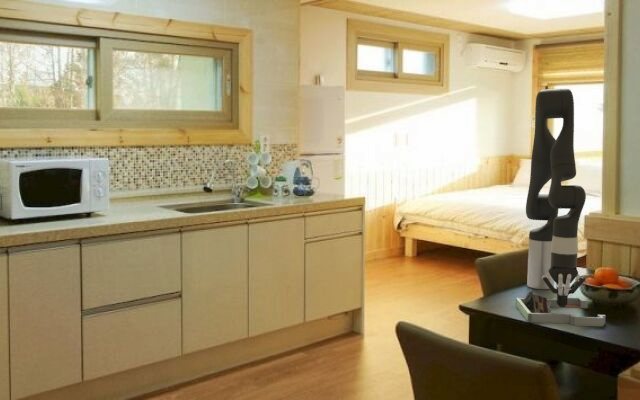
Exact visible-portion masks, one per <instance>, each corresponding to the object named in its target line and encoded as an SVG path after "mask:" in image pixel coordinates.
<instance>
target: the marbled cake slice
mask: <svg viewBox="0 0 640 400" xmlns="http://www.w3.org/2000/svg"><path fill="white" fill-rule="evenodd" d="M529 288H530V289H529V291H528V292H527V294H526V296H525V297H524V298H525V299H524V305H525V306H526V307H527V308H528V310H529V311H530V312H531V313H552V312H553V310H552V309H551V307H550V304H551V302H550V301H548V299H549V298H547V297H544V296H541V295H538V294H534V292H533V291H532V288H531V287H529Z"/></svg>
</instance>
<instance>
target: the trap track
mask: <svg viewBox="0 0 640 400" xmlns="http://www.w3.org/2000/svg"><path fill="white" fill-rule="evenodd" d="M525 298H526V297H524V298H523V297H522V298H521V297H516V298H515V307H516V308H517V310H518V311H519V312H520V314H521V315H522V316H523V317H524V319H526V321H527V323H549V324H550V323H551V324H552V323H554V324H555V323H556V324H570V325H571V326H578V327H604V326H605V324H606V314H597V316H596V317H595V316H575V314H574V313H552V312H551V313H531V312H530V311H529V310H528V308H527V307H526V306H525V305H524V299H525ZM548 301H550V302H551V304H550V308H553V309H554V308H555V309H556V308H557V309H558V308H560V307H559V305H558V304H557V296H556V297H555V296H554V297H552V298H548ZM588 304H589V301H588V300H587V299H583V297H581V298H580V297H568V300H567V306H565V307H564V308H580V309H588Z"/></svg>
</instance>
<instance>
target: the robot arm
mask: <svg viewBox="0 0 640 400" xmlns="http://www.w3.org/2000/svg"><path fill="white" fill-rule="evenodd" d="M534 111H535V112H534V115H535V116H534V135H533V136H534V137H533V145H532V149H531V150H532V151H531V159H530V175H529V176H530V178H529V185H528V186H529V187H528V189H527V190H528V191H527V197H526V203H525V213H526V214H525V215H526V217H527V219H529V220H532V221H547V222H546V223H545V224H543V225H542V226H540V227H538V228H537V227H536V228H534V229H531V230H530V231H529V234H528V235H529V236H528V256H527V277H526V278H527V279H526V280H527V282H526V285H527V287H528V288H531V289H537V290H550V291H551V292H552V293H553V294H556V297H557V304H558V305H559V307H558V308H566V307H565V306H567V300H568V298H569V295H573V294H575V292H576V291H577V290H578V289H579V288H580V287H581V286H582V285H583V284H584V283H585V281H586V278H585V277H583V276H582V275H580V274H579V271H578V265H577V264H578V251H579V247H578V246H579V242H578V233H579V232H578V231H579V230H578V228H579V222H580V218H581V215H582V212H583V210H584V206H585V203H586V198H587V193H586V190H585V189H584V188H583V187H582V186H581V185H577V184H576V185H575V184H574V185H566V184H565V185H563V184H562V182H565V181H570V180H572V179H574V178H575V177H576V175H577V167H576V159H575V149H574V147H575V145H574V142H575V139H574V137H575V101H574V95H573V92H572V90H571V89H570V88H550V89H549V88H548V89H541V90H539V91H538V92H537V94H536V98H535V109H534ZM549 119H551V120H552V119H562V120H563V121H562V127H561V130H560V132H559V134H558V136H557V138H555V137H554V136H553V134H552V133H551V131H550V129H549V128H548V125H547V120H549ZM550 180H551V181H550ZM549 181H550V185H549V186H550V187H549V191H548V194H541V193H540V192H541V190H542V189H543V187H544V186H545V185H546V184H547V183H549ZM559 209H560V210H561V209H564V210H565V209H566V210H567V209H569V210H568V212H567V213H566V214H564V215H559ZM572 282H573V283H572ZM571 284H572V285H571ZM555 286H556V288H555Z"/></svg>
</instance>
